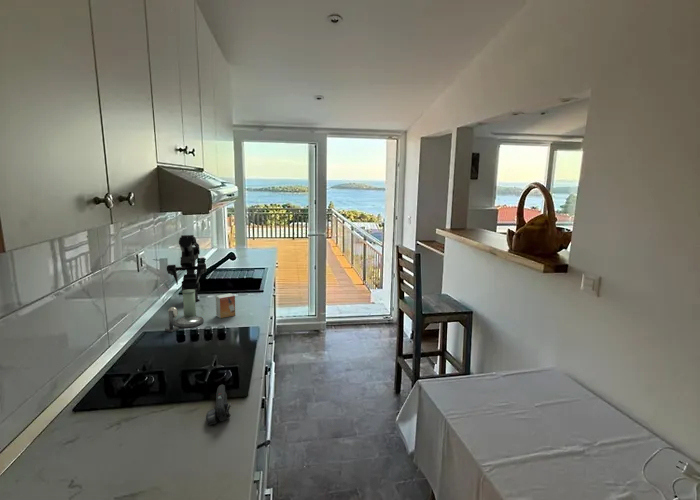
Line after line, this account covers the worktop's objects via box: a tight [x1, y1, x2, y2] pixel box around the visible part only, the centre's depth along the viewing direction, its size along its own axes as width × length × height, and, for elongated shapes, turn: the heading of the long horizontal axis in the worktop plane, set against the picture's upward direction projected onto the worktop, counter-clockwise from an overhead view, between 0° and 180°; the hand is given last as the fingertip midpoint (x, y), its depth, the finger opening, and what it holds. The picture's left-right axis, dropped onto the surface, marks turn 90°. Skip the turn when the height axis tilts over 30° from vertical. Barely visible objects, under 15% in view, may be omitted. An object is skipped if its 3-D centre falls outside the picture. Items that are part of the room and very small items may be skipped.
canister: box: [181, 289, 197, 317], centre depth 191 cm, size 6×6×13 cm
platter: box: [174, 315, 205, 329], centre depth 182 cm, size 13×13×1 cm
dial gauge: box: [164, 306, 180, 333], centre depth 172 cm, size 4×5×10 cm
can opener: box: [205, 384, 232, 426], centre depth 114 cm, size 18×7×6 cm, turn 14°
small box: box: [215, 292, 236, 319], centre depth 192 cm, size 8×6×10 cm
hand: (186, 283), depth 195 cm, fingers open, 9 cm apart
